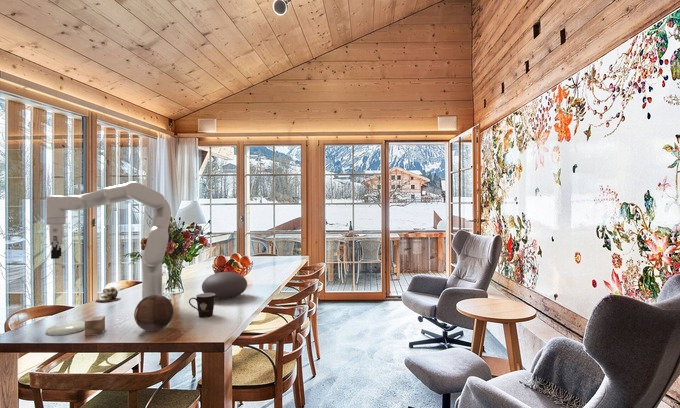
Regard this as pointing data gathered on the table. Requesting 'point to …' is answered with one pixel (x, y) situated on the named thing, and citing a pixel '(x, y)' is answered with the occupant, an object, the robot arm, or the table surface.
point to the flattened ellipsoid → (225, 285)
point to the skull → (109, 294)
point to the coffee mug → (204, 304)
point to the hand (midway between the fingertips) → (56, 257)
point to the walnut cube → (95, 325)
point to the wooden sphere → (153, 312)
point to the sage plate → (66, 328)
